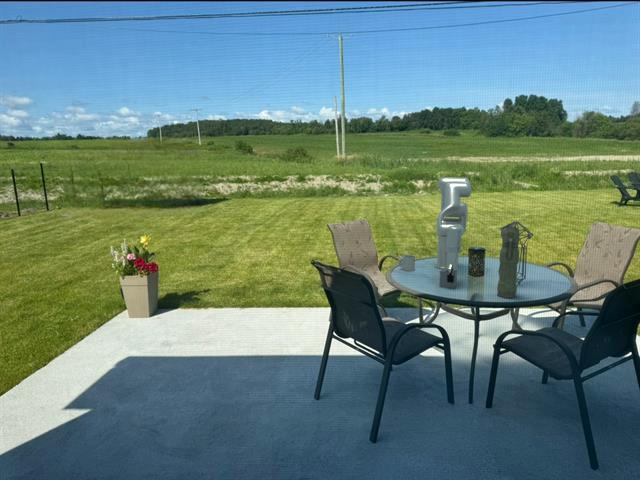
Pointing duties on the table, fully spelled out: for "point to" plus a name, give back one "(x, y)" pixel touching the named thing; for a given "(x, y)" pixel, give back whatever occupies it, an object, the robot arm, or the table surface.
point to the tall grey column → (508, 263)
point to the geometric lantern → (518, 247)
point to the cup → (407, 262)
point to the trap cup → (444, 279)
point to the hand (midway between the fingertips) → (451, 280)
